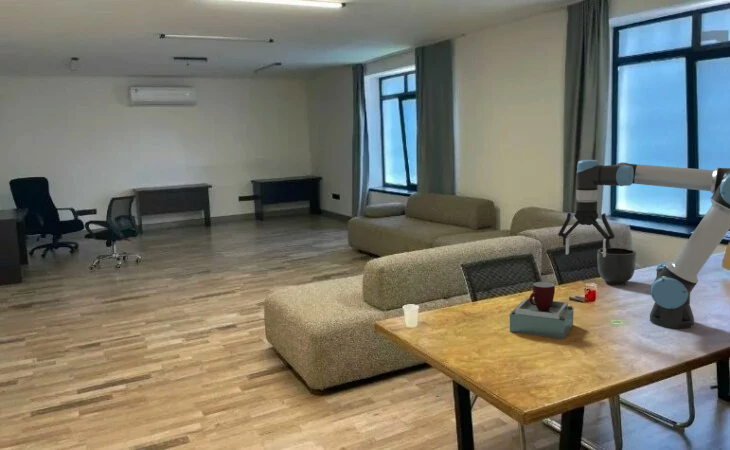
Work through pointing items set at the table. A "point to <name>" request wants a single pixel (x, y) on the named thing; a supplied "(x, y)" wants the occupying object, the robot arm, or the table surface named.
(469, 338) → the table surface
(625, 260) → the planter
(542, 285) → the mug
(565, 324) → the grey rectangular container
